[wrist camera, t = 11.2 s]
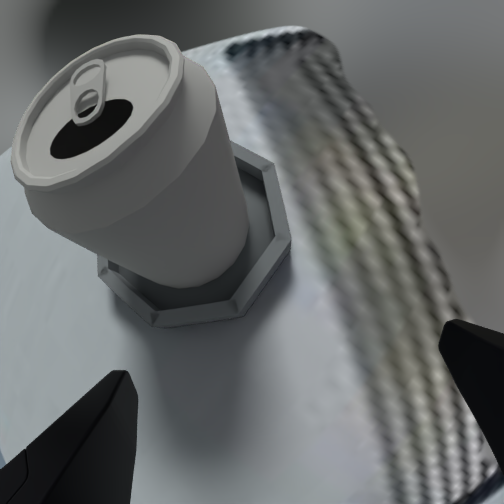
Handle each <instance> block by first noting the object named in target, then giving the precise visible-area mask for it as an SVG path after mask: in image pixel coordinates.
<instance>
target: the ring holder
mask: <svg viewBox="0 0 504 504" xmlns="http://www.w3.org/2000/svg"><path fill="white" fill-rule="evenodd" d="M230 143H231V147H232V151H233V154H234V158H235V162H236V166H237V169H238V173H239V177H240V181H241V185H242V188H243V192H244V196H245V200H246V204H247V209H248V218H249V229H248V233H247V238H246V242H245V246H244V247H243V249H242V251H241V252H240V254H239V256H238V258H237V259H236V261H235V263H234V264H233V265H232V266H231V267H229V268H228V269H227V270H226V271H225V272H224V273H223V274H222V275H221V276H219V277H218V278H216V279H214V280H212V281H210V282H208V283H205V284H203V285H201V286H199V287H190V288H181V289H177V288H173V287H169V286H165V285H160V284H158V283H156V282H154V281H151V280H149V279H147V278H145V277H143V276H141V275H139V274H136V273H134V272H132V271H130V270H128V269H126V268H124V267H122V266H120V265H118V264H116V263H114V262H112V261H110V260H108V259H106V258H104V257H102V256H100V255H98V254H97V261H98V277H99V278H100V279H101V280H102V281H103V282H104V283H105V284H106V285H107V286H108V287H109V288H110V289H111V290H112V291H113V292H115V293H116V294H117V295H118V296H119V297H120V298H121V299H122V300H123V301H124V302H125V303H126V304H127V305H128V306H129V307H130V308H131V309H133V310H134V311H135V312H136V313H137V314H138V315H139V316H140V317H141V318H143V319H144V320H145V321H146V322H147V323H148V324H149V325H150V326H152V327H159V328H170V327H177V326H185V325H192V324H199V323H206V322H213V321H219V320H226V319H232V318H238V317H243V316H244V315H245V313H246V312H247V311H248V309H249V308H250V306H251V305H252V304H253V302H254V301H255V299H256V298H257V297H258V295H259V294H260V292H261V291H262V290H263V288H264V287H265V285H266V284H267V282H268V281H269V280H270V278H271V277H272V275H273V274H274V273H275V271H276V270H277V268H278V267H279V265H280V264H281V262H282V261H283V260H284V258H285V257H286V255H287V254H288V252H289V251H290V249H291V234H290V230H289V225H288V221H287V216H286V212H285V208H284V203H283V199H282V195H281V190H280V186H279V182H278V178H277V174H276V170H275V165H274V163H272V162H270V161H269V160H267V159H265V158H263V157H261V156H259V155H257V154H255V153H253V152H251V151H250V150H248V149H246V148H244V147H242V146H240V145H238V144H236V143H234V142H232V141H230Z"/></svg>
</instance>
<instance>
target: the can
mask: <svg viewBox="0 0 504 504" xmlns="http://www.w3.org/2000/svg"><path fill="white" fill-rule="evenodd" d="M11 165H12V169H13V173H14V177H15V179H16V180H17V181H18V182H19V183H20V184H21V185H23V186H24V189H25V195H26V198H27V201H28V204H29V206H30V209H31V212H32V214H33V215H34V216H35V217H36V218H37V219H39V220H40V221H41V222H42V223H43V224H44V225H45V226H46V227H47V228H48V229H50V230H52V231H54V232H56V233H58V234H59V235H61V236H63V237H65V238H67V239H69V240H71V241H73V242H74V243H76V244H78V245H80V246H82V247H84V248H86V249H88V250H90V251H92V252H94V253H96V254H98V255H100V256H102V257H104V258H106V259H108V260H110V261H112V262H114V263H116V264H118V265H120V266H122V267H124V268H126V269H128V270H130V271H132V272H134V273H136V274H139V275H141V276H143V277H145V278H147V279H149V280H151V281H154V282H156V283H158V284H160V285H165V286H169V287H173V288H177V289H181V288H190V287H199V286H201V285H203V284H205V283H208V282H210V281H212V280H214V279H216V278H218V277H219V276H221V275H222V274H223V273H224V272H225V271H226V270H227V269H228V268H229V267H231V266H232V265H233V264H234V263H235V261H236V259H237V258H238V256H239V254H240V252H241V251H242V249H243V247H244V246H245V242H246V238H247V233H248V229H249V218H248V209H247V204H246V200H245V196H244V192H243V188H242V185H241V181H240V177H239V173H238V169H237V166H236V162H235V158H234V154H233V151H232V147H231V143H230V139H229V135H228V132H227V128H226V124H225V120H224V117H223V113H222V109H221V105H220V102H219V98H218V94H217V91H216V87H215V84H214V83H213V81H212V79H211V78H210V76H209V75H208V73H207V72H206V70H205V69H204V67H203V66H201V65H199V64H198V63H196V62H194V61H192V60H190V59H189V58H187V57H185V56H183V55H182V53H181V51H180V50H179V48H178V46H177V45H176V43H174V42H172V41H170V40H168V39H166V38H163V37H161V36H155V35H133V36H127V37H122V38H118V39H114V40H112V41H109V42H107V43H104V44H102V45H99V46H97V47H95V48H93V49H91V50H89V51H87V52H86V53H84V54H82V55H81V56H79V57H78V58H76V59H74V60H73V61H71V62H70V63H69V64H68V65H66V66H65V67H64V68H63V69H62V70H60V71H59V72H58V73H57V74H56V75H54V76H53V77H52V78H51V80H49V81H48V83H47V84H46V85H45V86H44V87H43V88H42V89H41V90H40V92H39V93H38V94H37V95H36V96H35V98H34V99H33V101H32V102H31V104H30V105H29V107H28V108H27V110H26V112H25V113H24V115H23V117H22V118H21V121H20V123H19V126H18V128H17V131H16V133H15V136H14V139H13V146H12V154H11Z"/></svg>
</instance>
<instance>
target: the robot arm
mask: <svg viewBox="0 0 504 504" xmlns="http://www.w3.org/2000/svg"><path fill="white" fill-rule="evenodd" d="M438 347H439V351H440V353H441V355H442V357H443V359H444V361H445V363H446V365H447V367H448V369H449V371H450V373H451V375H452V377H453V379H454V382H455V384H456V386H457V387H458V389H459V391H460V393H461V394H462V396H463V398H464V400H465V401H466V403H467V405H468V407H469V408H470V410H471V412H472V414H473V415H474V417H475V419H476V421H477V423H478V425H479V426H480V428H481V430H482V432H483V434H484V436H485V438H486V440H487V442H488V444H489V446H490V447H491V449H492V452H493V454H494V456H495V458H496V460H497V462H498V464H499V466H500V468H501V471H502V473H503V475H504V334H503V333H500V332H497V331H494V330H491V329H488V328H484V327H481V326H478V325H475V324H472V323H469V322H466V321H463V320H459V319H453V320H450V321H447V322H446V323H445V325H444V327H443V331H442V334H441V337H440V340H439V345H438ZM137 416H138V394H137V391H136V389H135V386H134V384H133V381H132V379H131V376H130V374H129V373H128V371H126V370H113V371H111V372H110V373H109V374H107V375H106V376H105V377H104V378H103V379H102V380H101V381H100V382H98V383H97V384H96V385H95V386H94V387H93V388H92V389H91V390H90V391H88V392H87V393H86V394H85V395H84V396H83V397H82V398H81V399H79V400H78V401H77V402H76V403H75V404H74V405H73V406H72V407H70V408H69V409H68V410H67V411H66V412H65V413H64V414H63V415H62V416H60V417H59V418H58V419H57V420H56V421H55V422H54V423H53V424H51V425H50V426H49V427H48V428H47V429H46V430H45V431H44V432H43V433H41V434H40V435H39V436H38V437H37V438H36V439H35V440H34V441H33V442H31V443H30V444H29V445H28V446H27V447H26V449H23V450H22V451H21V452H20V453H19V454H18V455H17V456H16V457H15V458H13V459H12V460H11V461H10V462H9V463H8V464H6V465H5V466H4V467H3V468H2V469H0V504H130V499H131V489H132V480H133V472H134V464H135V457H136V446H137Z"/></svg>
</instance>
